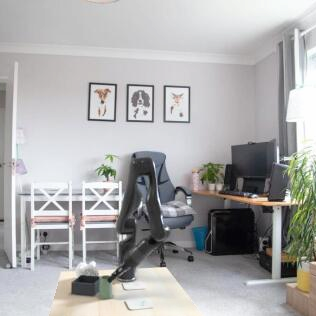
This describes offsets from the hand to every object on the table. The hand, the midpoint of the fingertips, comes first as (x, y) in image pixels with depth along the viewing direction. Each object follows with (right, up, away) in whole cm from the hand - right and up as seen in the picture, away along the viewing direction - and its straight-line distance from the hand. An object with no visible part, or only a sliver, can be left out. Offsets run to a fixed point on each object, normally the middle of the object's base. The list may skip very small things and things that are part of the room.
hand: (112, 278), depth 161 cm
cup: (-3, -9, +1) cm, 9 cm away
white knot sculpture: (-16, -9, +25) cm, 31 cm away
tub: (-13, -9, +8) cm, 18 cm away
